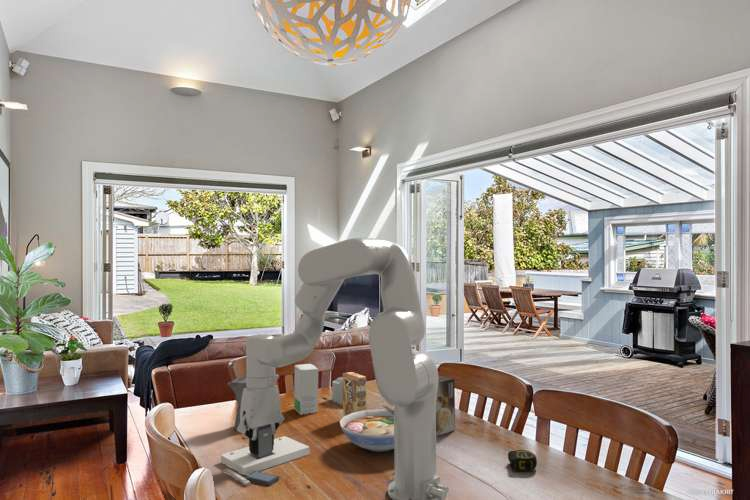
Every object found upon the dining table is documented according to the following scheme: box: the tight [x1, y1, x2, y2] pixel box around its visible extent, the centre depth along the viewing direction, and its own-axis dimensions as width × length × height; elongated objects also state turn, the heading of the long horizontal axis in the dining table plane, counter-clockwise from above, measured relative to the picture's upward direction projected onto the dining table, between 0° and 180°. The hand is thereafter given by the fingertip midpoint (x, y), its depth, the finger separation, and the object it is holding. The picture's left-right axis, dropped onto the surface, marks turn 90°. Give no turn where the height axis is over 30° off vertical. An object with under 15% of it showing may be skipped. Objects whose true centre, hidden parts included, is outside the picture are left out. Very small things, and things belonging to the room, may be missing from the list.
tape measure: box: [507, 449, 538, 472], centre depth 132 cm, size 7×7×4 cm
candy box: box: [342, 371, 368, 417], centre depth 170 cm, size 9×4×15 cm, turn 33°
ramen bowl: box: [339, 405, 394, 453], centre depth 147 cm, size 25×23×8 cm
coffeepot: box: [227, 372, 248, 431], centre depth 166 cm, size 15×9×18 cm, turn 121°
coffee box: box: [436, 375, 456, 437], centre depth 160 cm, size 9×6×16 cm
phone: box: [244, 471, 280, 487], centre depth 126 cm, size 8×4×1 cm, turn 64°
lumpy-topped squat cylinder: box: [331, 376, 368, 405], centre depth 194 cm, size 10×13×9 cm
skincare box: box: [293, 363, 319, 416], centre depth 182 cm, size 8×7×16 cm
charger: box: [251, 425, 272, 459], centre depth 138 cm, size 4×4×8 cm
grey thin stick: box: [223, 468, 251, 487], centre depth 127 cm, size 11×1×1 cm, turn 44°
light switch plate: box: [220, 435, 311, 476], centre depth 140 cm, size 12×20×2 cm, turn 134°
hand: (261, 450), depth 138 cm, fingers closed on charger, 3 cm apart
